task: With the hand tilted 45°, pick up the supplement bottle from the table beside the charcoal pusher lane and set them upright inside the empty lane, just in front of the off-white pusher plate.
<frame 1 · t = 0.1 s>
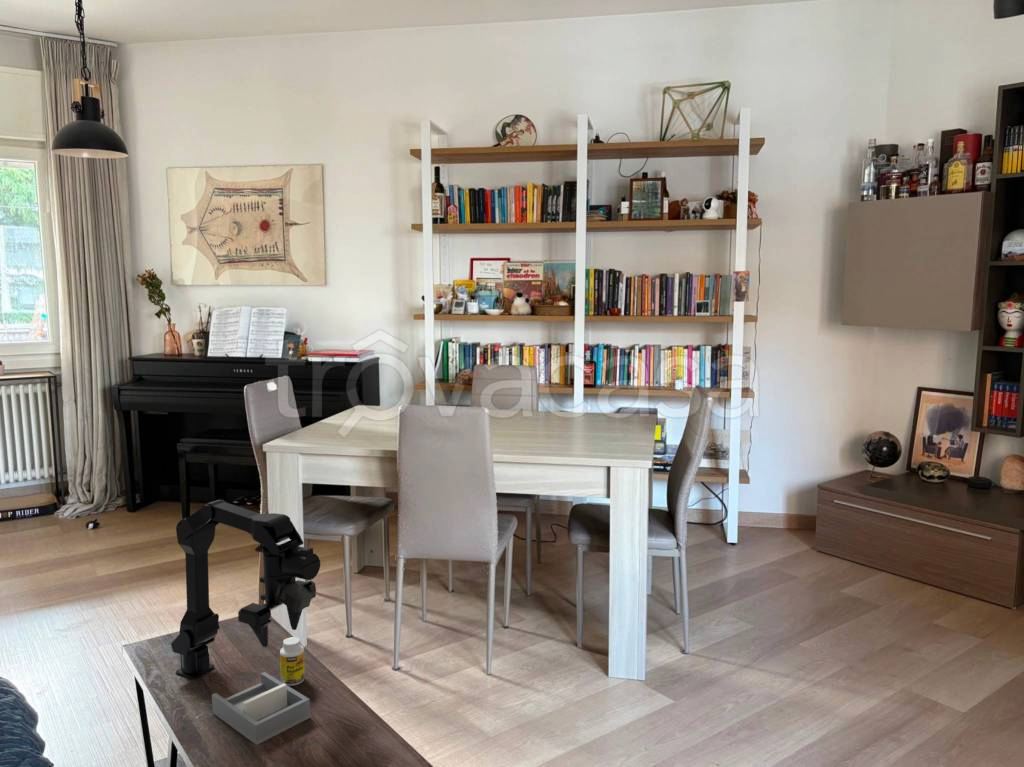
hand: (279, 637, 169), 15 cm above the table, tool pointing down, fingers open, 9 cm apart
supplement bottle: (293, 681, 179), on the table
pusher plate: (265, 704, 163), point 3 cm above the table, slide at 0.0 cm
pusher lane: (261, 715, 164), on the table
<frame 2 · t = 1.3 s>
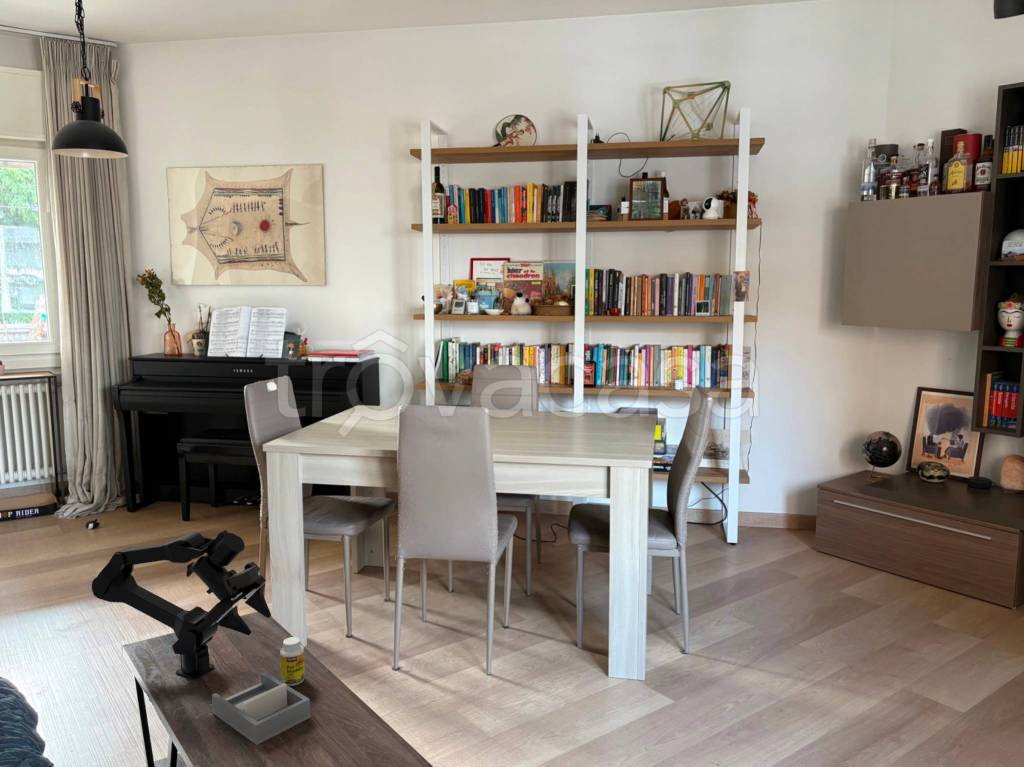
hand: (260, 625, 178), 13 cm above the table, tool tilted 45°, fingers open, 9 cm apart
nothing on the table moved.
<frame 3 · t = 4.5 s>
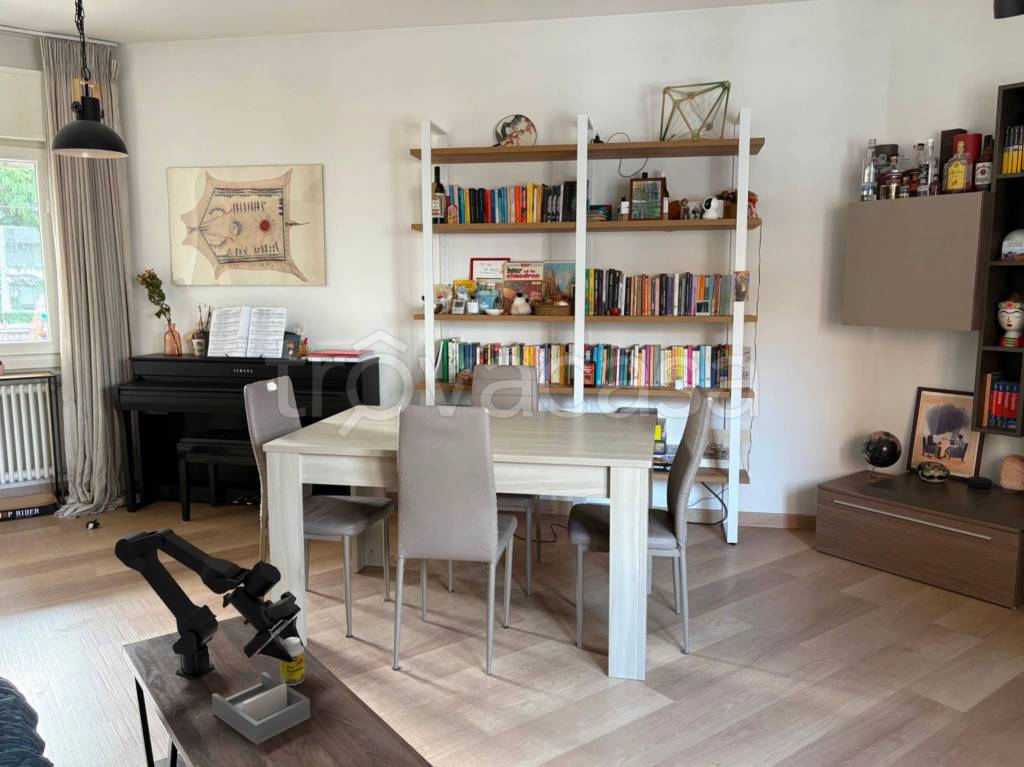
hand: (297, 655, 178), 7 cm above the table, tool tilted 45°, fingers closed on supplement bottle, 5 cm apart
supplement bottle: (293, 681, 179), on the table, touching gripper
everything else where it was.
when the fingers open (9 cm above the table, at t = 10.6 s): supplement bottle drops 1 cm, resting on pusher lane.
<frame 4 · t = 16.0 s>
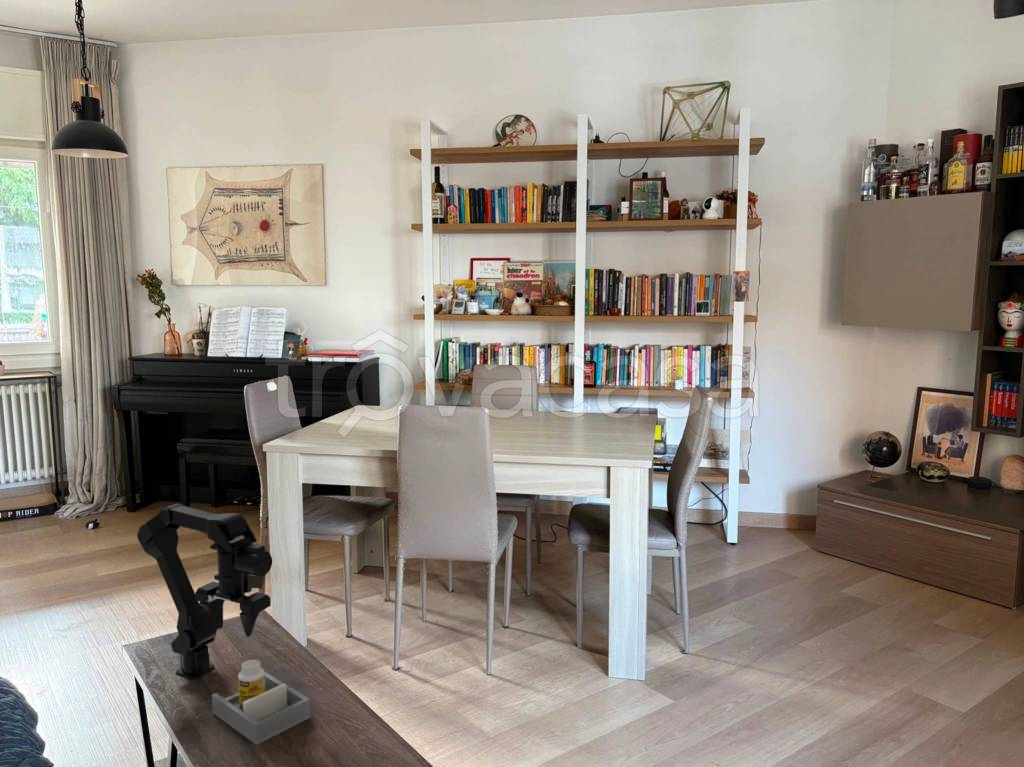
hand: (234, 632, 176), 13 cm above the table, tool pointing down, fingers open, 9 cm apart
supplement bottle: (252, 707, 166), point 1 cm above the table, touching pusher lane
everything else where it was.
at the end: supplement bottle inside the target area on the pusher lane (0.9 cm from its centre), point 0.6 cm above the pusher lane's base; supplement bottle tilted 0°; the gripper is holding nothing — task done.
